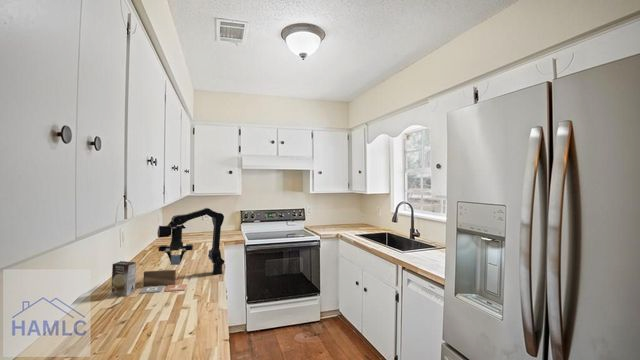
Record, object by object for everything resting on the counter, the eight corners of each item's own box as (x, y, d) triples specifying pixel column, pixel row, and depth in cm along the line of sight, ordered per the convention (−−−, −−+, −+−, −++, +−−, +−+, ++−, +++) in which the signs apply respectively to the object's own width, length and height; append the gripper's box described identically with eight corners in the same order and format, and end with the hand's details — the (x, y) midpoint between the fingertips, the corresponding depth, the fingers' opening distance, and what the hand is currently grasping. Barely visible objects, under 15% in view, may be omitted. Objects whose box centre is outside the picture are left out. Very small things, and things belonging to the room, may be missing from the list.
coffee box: (110, 295, 156) (111, 263, 157) (119, 291, 163) (120, 261, 163) (126, 296, 155) (128, 264, 156) (135, 292, 162) (136, 261, 162)
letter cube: (172, 262, 187) (172, 254, 187) (180, 262, 188) (181, 254, 188) (170, 264, 182) (170, 256, 182) (179, 264, 183) (179, 255, 183)
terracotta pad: (168, 286, 173) (168, 285, 173) (187, 284, 175) (187, 283, 176) (164, 291, 163) (164, 290, 163) (184, 290, 166) (184, 289, 166)
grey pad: (144, 287, 169) (144, 286, 169) (164, 286, 172) (164, 285, 172) (139, 293, 160) (139, 292, 160) (160, 292, 162) (160, 291, 162)
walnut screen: (144, 285, 173) (144, 271, 173) (175, 283, 177) (175, 269, 178) (143, 286, 171) (143, 272, 171) (174, 284, 175) (175, 270, 176)
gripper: (156, 238, 175) (155, 266, 175) (191, 237, 180) (190, 264, 180) (160, 235, 186) (159, 261, 185) (193, 235, 191) (192, 260, 191)
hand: (175, 262), depth 185 cm, fingers closed on letter cube, 5 cm apart
